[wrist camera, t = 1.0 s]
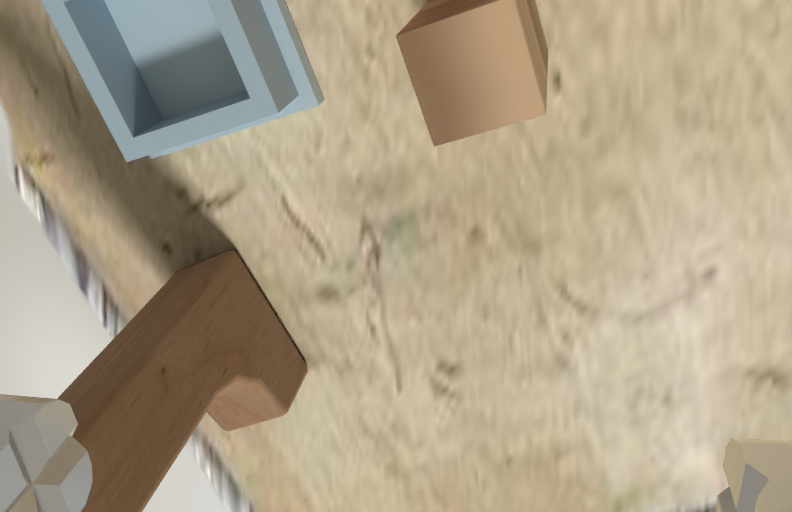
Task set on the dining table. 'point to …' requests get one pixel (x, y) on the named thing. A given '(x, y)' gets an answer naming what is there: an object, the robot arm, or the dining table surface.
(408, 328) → the dining table surface
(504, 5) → the wood grain brick
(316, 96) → the cradle
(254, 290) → the wooden block
